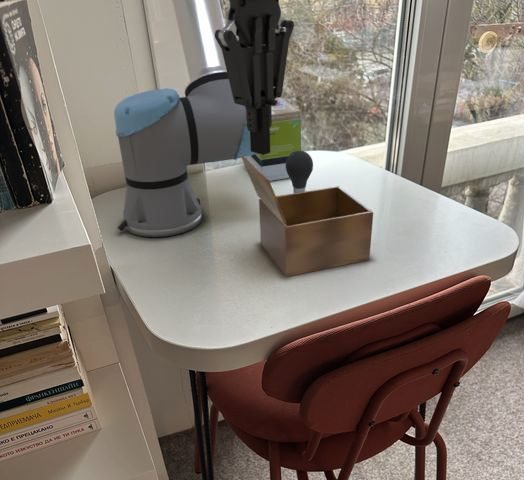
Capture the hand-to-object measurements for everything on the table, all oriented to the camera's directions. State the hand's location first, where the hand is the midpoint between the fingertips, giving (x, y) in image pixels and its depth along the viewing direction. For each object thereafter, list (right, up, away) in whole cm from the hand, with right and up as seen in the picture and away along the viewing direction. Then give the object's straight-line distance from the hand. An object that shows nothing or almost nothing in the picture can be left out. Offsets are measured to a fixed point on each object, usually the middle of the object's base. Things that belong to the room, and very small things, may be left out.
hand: (260, 151), depth 83 cm
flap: (+1, -5, +3) cm, 6 cm away
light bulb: (+8, +2, +33) cm, 34 cm away
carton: (+9, -13, +13) cm, 20 cm away
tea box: (+3, +13, +49) cm, 51 cm away
